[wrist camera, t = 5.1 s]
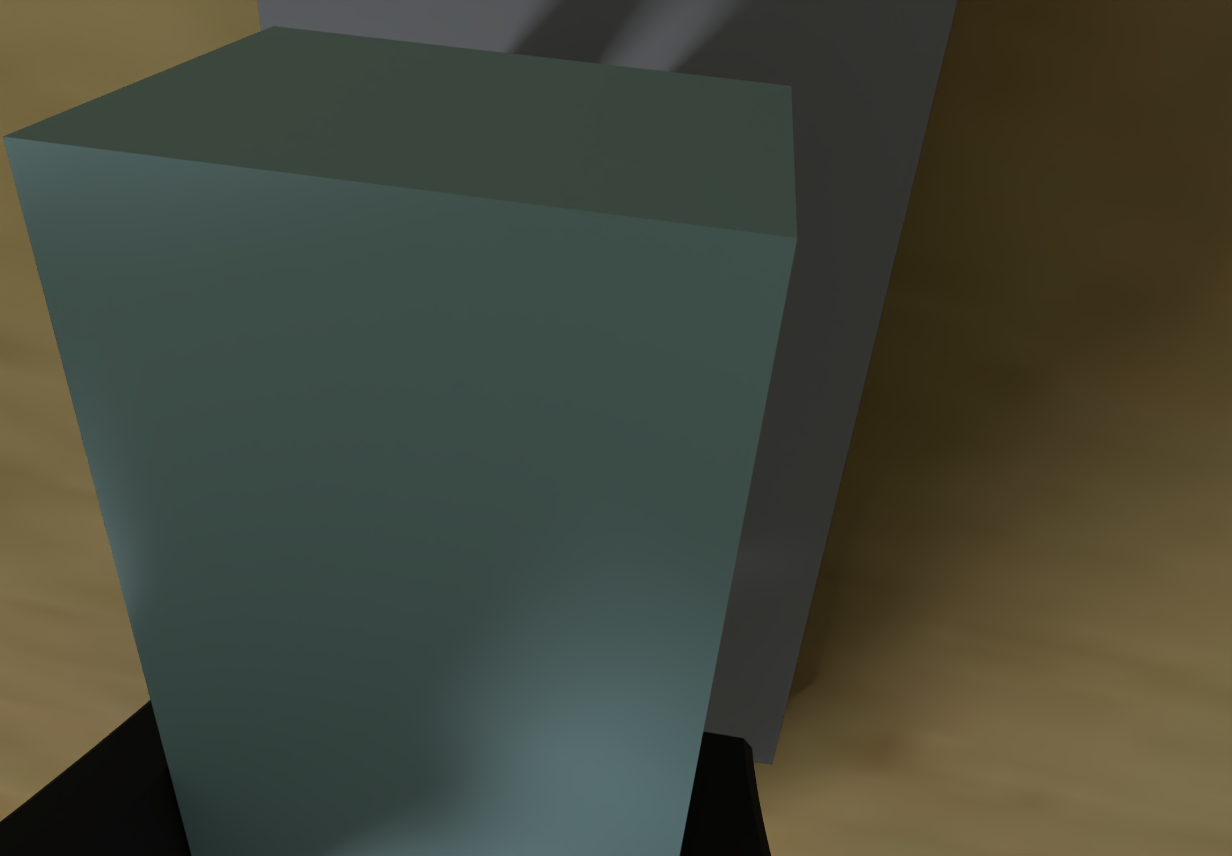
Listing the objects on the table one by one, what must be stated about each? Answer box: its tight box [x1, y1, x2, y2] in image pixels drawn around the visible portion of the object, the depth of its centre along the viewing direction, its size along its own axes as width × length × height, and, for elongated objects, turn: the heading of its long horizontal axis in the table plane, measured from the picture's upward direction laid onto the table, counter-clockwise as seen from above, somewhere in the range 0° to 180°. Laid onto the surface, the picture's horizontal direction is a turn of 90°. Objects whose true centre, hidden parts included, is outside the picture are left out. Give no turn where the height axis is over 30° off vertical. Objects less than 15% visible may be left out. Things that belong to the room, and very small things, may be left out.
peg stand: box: [258, 0, 958, 764], centre depth 16 cm, size 18×10×6 cm, turn 176°
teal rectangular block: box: [3, 26, 797, 856], centre depth 11 cm, size 14×4×4 cm, turn 175°
